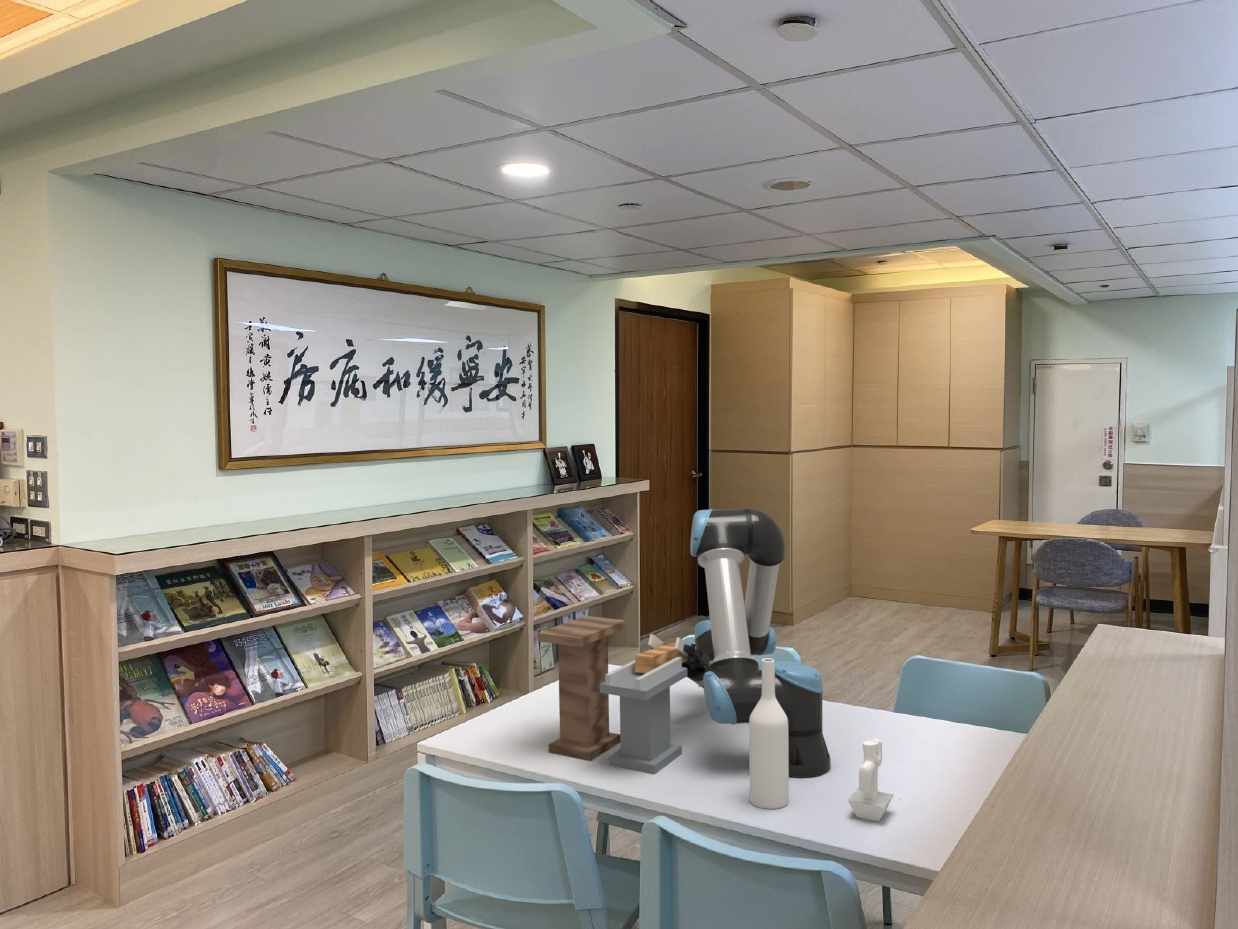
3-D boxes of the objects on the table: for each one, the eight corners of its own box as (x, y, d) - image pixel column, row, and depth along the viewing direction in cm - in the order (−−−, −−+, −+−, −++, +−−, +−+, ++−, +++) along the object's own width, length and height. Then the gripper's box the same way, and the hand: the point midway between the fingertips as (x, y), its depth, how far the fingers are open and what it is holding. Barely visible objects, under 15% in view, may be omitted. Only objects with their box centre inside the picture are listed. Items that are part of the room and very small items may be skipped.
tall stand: (587, 730, 235) (585, 615, 234) (627, 738, 229) (625, 620, 228) (540, 757, 217) (537, 633, 215) (582, 766, 211) (580, 638, 209)
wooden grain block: (671, 658, 231) (671, 642, 231) (687, 660, 228) (688, 645, 228) (634, 671, 214) (635, 654, 214) (652, 674, 212) (652, 657, 212)
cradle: (644, 741, 227) (643, 652, 225) (688, 749, 221) (687, 658, 219) (601, 770, 208) (599, 673, 207) (647, 779, 202) (645, 680, 201)
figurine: (845, 820, 181) (845, 746, 180) (860, 803, 189) (859, 732, 188) (882, 828, 177) (882, 752, 176) (895, 810, 185) (895, 738, 184)
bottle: (796, 803, 189) (796, 661, 187) (766, 813, 185) (765, 667, 183) (771, 790, 196) (770, 652, 194) (741, 799, 191) (740, 658, 190)
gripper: (730, 686, 233) (696, 661, 215) (662, 677, 243) (625, 651, 225) (736, 658, 236) (703, 630, 218) (668, 649, 246) (632, 622, 228)
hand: (663, 641), depth 222 cm, fingers open, 7 cm apart
